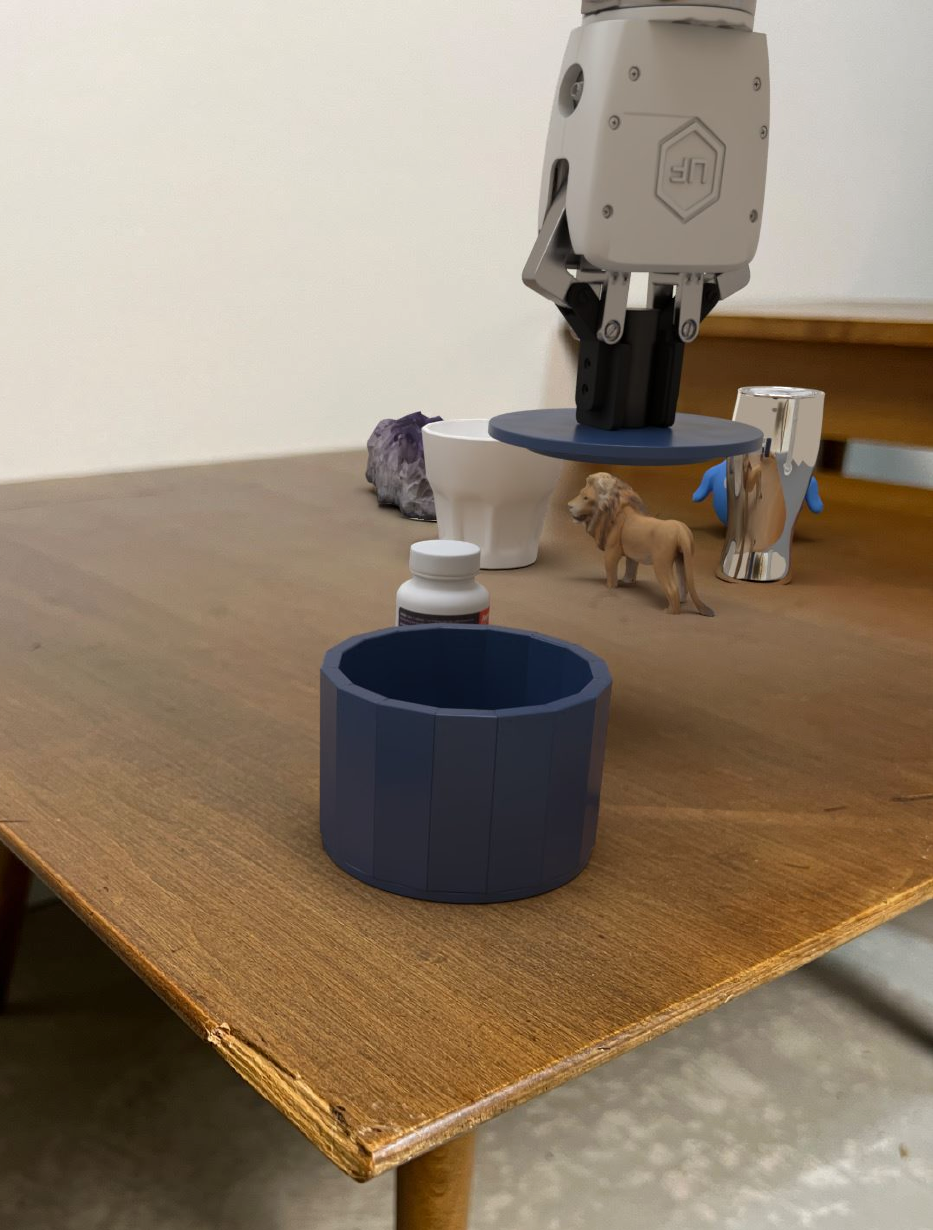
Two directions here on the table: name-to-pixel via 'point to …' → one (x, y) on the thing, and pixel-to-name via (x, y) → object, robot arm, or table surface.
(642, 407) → the lid
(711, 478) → the blue mole toy
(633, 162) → the robot arm
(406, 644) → the pot
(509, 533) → the cup
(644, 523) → the lion figurine
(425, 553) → the pill bottle
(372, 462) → the geode
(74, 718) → the table surface
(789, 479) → the beer glass
